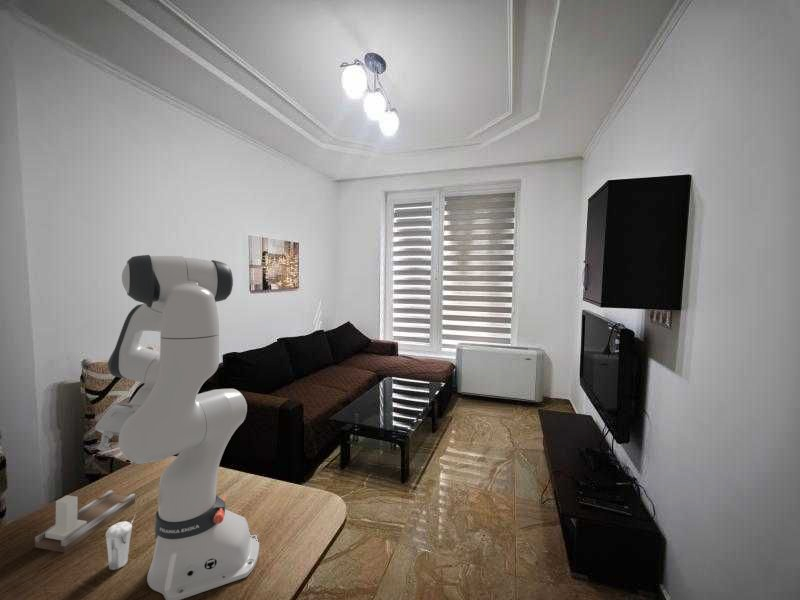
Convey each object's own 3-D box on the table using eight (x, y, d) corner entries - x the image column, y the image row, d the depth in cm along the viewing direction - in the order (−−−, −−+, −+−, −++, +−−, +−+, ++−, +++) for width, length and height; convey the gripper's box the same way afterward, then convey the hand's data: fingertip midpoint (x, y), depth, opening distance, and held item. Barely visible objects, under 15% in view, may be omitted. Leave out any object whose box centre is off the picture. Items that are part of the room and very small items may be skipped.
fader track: (110, 498, 96) (110, 489, 96) (135, 502, 95) (135, 493, 95) (34, 547, 79) (35, 536, 78) (64, 552, 78) (64, 541, 77)
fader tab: (68, 522, 84) (68, 491, 84) (86, 525, 84) (87, 494, 83) (45, 537, 79) (45, 504, 79) (64, 540, 79) (64, 507, 78)
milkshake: (139, 559, 77) (140, 518, 76) (109, 576, 72) (110, 532, 72) (130, 550, 79) (131, 509, 79) (101, 565, 75) (102, 522, 74)
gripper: (110, 396, 101) (74, 443, 92) (171, 403, 99) (141, 452, 89) (123, 405, 106) (91, 451, 96) (183, 413, 103) (155, 460, 94)
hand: (116, 452), depth 93 cm, fingers open, 8 cm apart
